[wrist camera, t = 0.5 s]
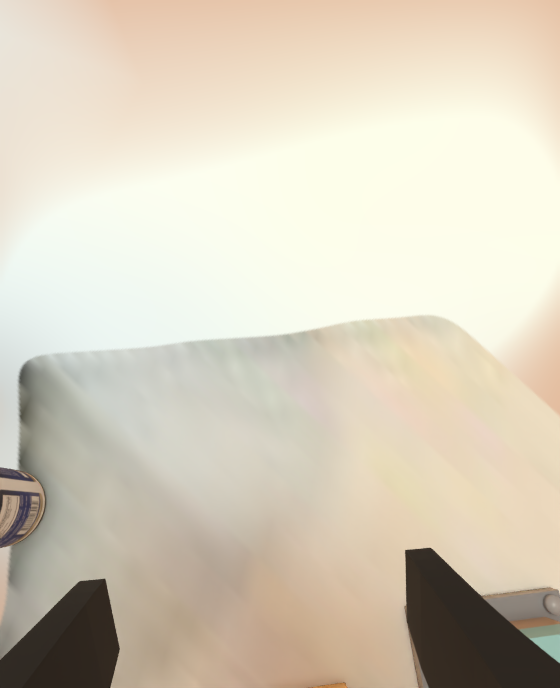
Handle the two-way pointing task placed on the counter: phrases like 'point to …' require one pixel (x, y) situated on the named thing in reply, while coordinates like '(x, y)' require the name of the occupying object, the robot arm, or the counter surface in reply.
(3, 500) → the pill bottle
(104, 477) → the counter surface
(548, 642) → the teal block with base
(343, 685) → the ochre brick
